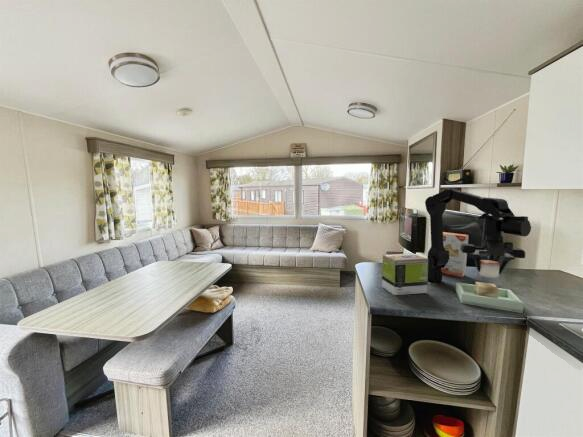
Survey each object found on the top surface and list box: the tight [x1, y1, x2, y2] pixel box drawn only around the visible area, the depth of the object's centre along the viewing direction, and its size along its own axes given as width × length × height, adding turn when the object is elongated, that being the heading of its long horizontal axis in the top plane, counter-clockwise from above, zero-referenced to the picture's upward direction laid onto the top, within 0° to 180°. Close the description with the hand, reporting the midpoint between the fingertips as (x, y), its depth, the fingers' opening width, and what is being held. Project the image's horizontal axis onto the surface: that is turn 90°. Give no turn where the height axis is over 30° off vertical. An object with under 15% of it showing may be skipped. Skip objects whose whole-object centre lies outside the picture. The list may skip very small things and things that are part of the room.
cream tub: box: [478, 259, 500, 279], centre depth 97 cm, size 6×6×5 cm
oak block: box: [474, 281, 499, 298], centre depth 98 cm, size 6×6×5 cm
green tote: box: [455, 282, 525, 314], centre depth 98 cm, size 18×14×4 cm
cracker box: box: [441, 231, 469, 278], centre depth 131 cm, size 14×6×21 cm, turn 43°
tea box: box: [381, 253, 429, 296], centre depth 107 cm, size 15×10×15 cm
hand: (488, 272), depth 97 cm, fingers closed on cream tub, 6 cm apart
